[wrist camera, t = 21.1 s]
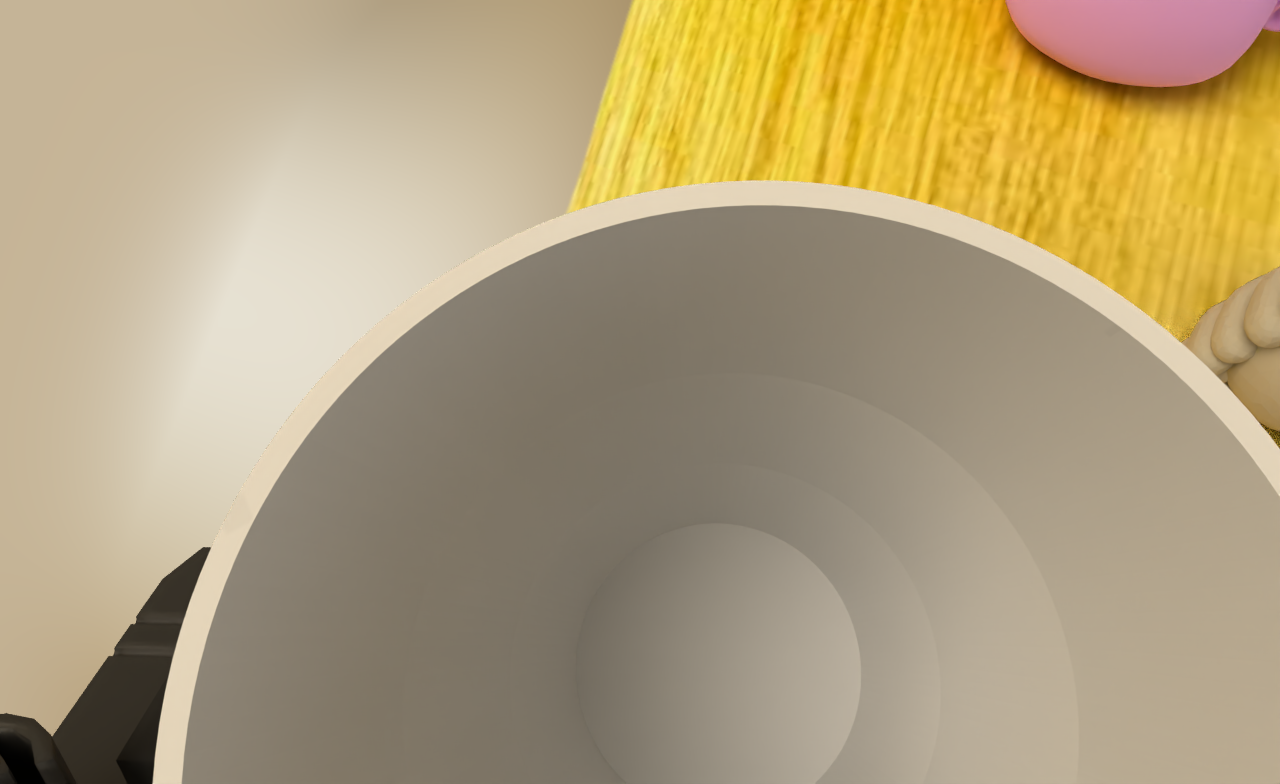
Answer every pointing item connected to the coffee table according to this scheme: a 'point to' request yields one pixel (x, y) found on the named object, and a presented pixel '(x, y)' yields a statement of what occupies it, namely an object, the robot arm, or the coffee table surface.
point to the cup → (747, 523)
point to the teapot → (1145, 36)
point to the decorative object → (1245, 345)
